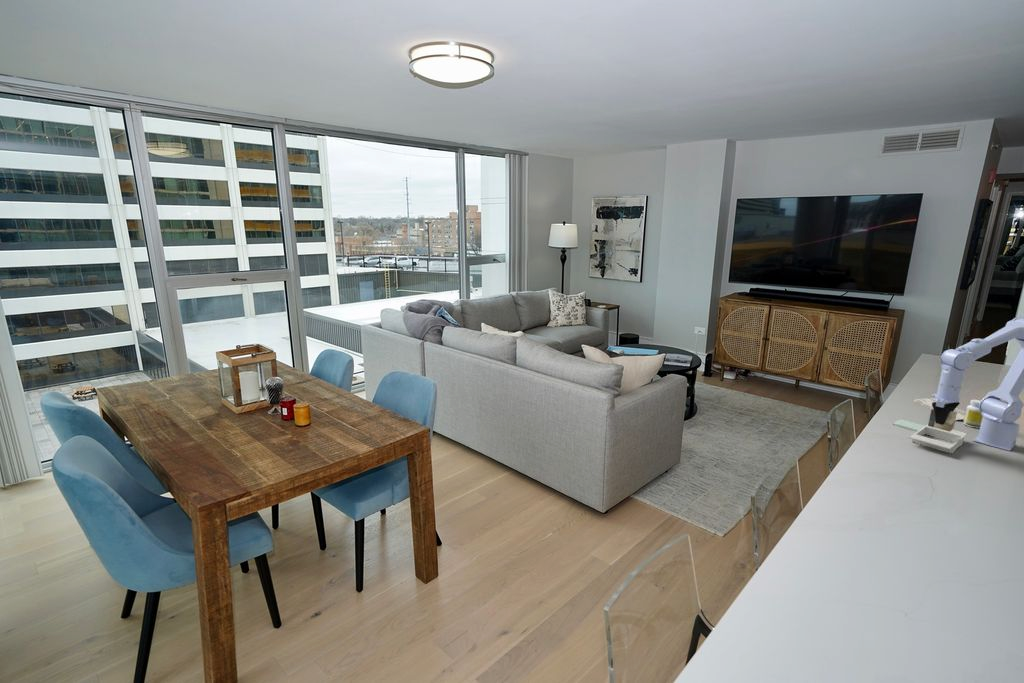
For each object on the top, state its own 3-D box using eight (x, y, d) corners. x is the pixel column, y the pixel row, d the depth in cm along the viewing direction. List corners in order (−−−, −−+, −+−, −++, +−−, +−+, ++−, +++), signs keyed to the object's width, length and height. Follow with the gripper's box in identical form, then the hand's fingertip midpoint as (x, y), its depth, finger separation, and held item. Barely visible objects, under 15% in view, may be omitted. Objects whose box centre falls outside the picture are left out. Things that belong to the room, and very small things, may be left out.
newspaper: (987, 423, 193) (988, 417, 193) (953, 425, 194) (954, 419, 194) (941, 401, 215) (942, 396, 215) (911, 403, 216) (912, 398, 216)
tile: (925, 427, 188) (925, 425, 188) (918, 431, 184) (919, 430, 184) (899, 420, 194) (899, 419, 194) (892, 424, 190) (893, 423, 190)
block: (953, 428, 172) (957, 412, 171) (949, 431, 170) (953, 415, 168) (931, 423, 177) (935, 407, 175) (927, 425, 174) (931, 409, 173)
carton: (965, 441, 176) (967, 433, 175) (948, 456, 165) (950, 448, 164) (926, 430, 185) (928, 423, 184) (907, 445, 173) (909, 437, 173)
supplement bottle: (985, 429, 186) (991, 404, 184) (968, 427, 188) (974, 403, 185) (975, 423, 192) (981, 399, 189) (959, 422, 193) (964, 398, 190)
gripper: (941, 377, 177) (934, 413, 180) (928, 385, 169) (920, 423, 172) (967, 383, 171) (959, 420, 175) (955, 391, 163) (946, 430, 166)
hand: (941, 422), depth 173 cm, fingers closed on block, 4 cm apart
